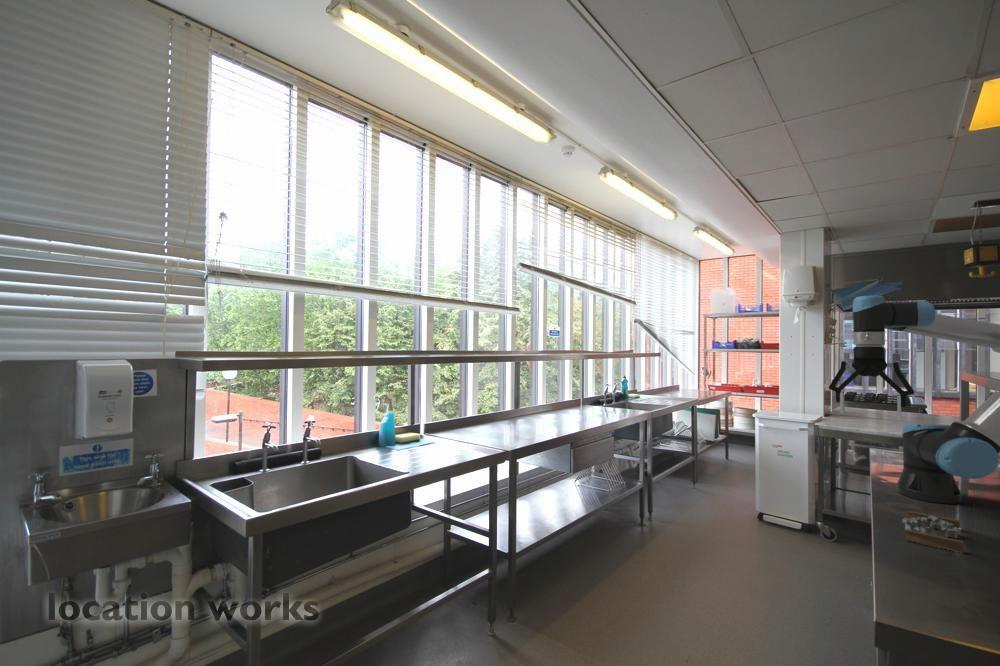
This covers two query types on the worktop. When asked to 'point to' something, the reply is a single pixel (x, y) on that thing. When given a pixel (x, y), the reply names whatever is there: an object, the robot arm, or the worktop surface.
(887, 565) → the worktop surface
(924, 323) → the robot arm
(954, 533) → the egg carton
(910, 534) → the parallel wooden rails
